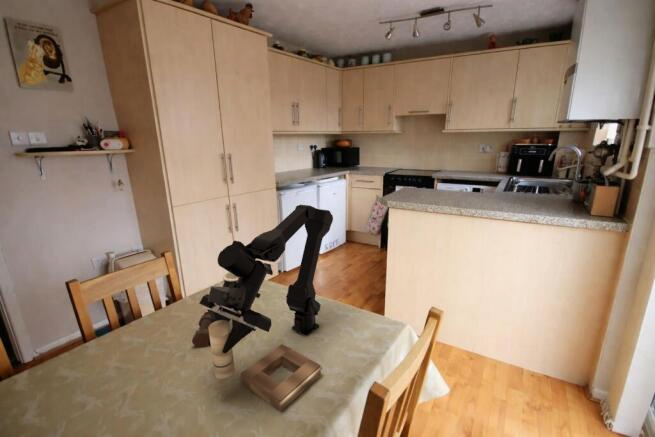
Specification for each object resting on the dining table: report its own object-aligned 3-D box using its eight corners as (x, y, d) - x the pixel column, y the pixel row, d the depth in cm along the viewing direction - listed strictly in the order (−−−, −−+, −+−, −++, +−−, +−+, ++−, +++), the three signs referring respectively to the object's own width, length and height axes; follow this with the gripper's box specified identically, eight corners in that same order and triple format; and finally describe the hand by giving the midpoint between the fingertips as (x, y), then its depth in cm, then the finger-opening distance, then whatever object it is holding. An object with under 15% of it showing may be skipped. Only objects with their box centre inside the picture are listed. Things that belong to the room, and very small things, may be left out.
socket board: (281, 352, 88) (281, 342, 87) (322, 375, 79) (322, 365, 78) (239, 382, 77) (238, 372, 76) (281, 413, 68) (281, 402, 67)
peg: (226, 361, 75) (221, 317, 72) (238, 369, 72) (233, 323, 69) (210, 373, 71) (203, 327, 68) (222, 381, 69) (216, 334, 66)
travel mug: (229, 336, 96) (223, 282, 92) (225, 323, 103) (219, 273, 98) (255, 328, 99) (250, 277, 95) (249, 316, 106) (244, 268, 102)
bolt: (212, 324, 106) (206, 351, 91) (197, 320, 104) (189, 346, 90) (219, 310, 105) (214, 334, 91) (205, 305, 104) (197, 329, 89)
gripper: (201, 263, 74) (163, 327, 68) (258, 280, 64) (221, 357, 58) (230, 280, 82) (199, 339, 76) (284, 297, 73) (255, 366, 66)
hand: (216, 349), depth 69 cm, fingers closed on peg, 4 cm apart
